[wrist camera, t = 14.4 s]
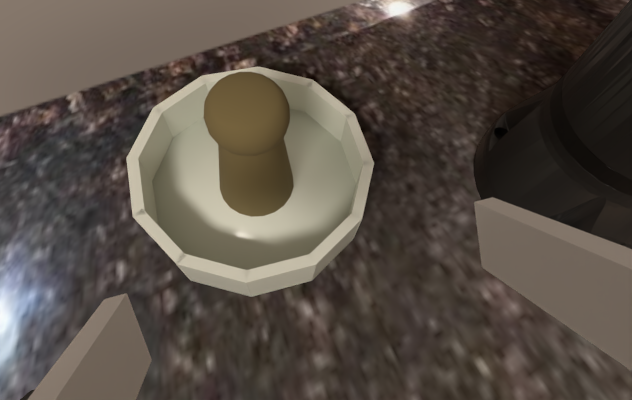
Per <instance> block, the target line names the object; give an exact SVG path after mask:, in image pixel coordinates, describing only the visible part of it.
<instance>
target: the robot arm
mask: <svg viewBox="0 0 632 400" xmlns="http://www.w3.org/2000/svg"><path fill="white" fill-rule="evenodd" d="M474 173H475V180H476V184H477V188H478V191H479V194H480V196H481V198H482V200H480V201H476V202H474V205H475V214H476V222H477V230H478V239H479V247H480V255H481V264H482V268H484V269H485V270H487V271H488V272H490V273H491V274H492V275H494V276H495V277H497V278H498V279H500V280H501V281H503V282H504V283H505V284H507V285H508V286H510V287H511V288H513V289H514V290H515V291H517V292H518V293H520V294H521V295H523V296H524V297H526V298H527V299H528V300H530V301H531V302H533V303H534V304H536V305H537V306H539V307H540V308H541V309H543V310H544V311H546V312H547V313H549V314H550V315H551V316H553V317H554V318H556V319H557V320H559V321H560V322H562V323H563V324H564V325H566V326H567V327H569V328H570V329H572V330H573V331H575V332H576V333H577V334H579V335H580V336H582V337H583V338H585V339H586V340H587V341H589V342H590V343H592V344H593V345H595V346H596V347H598V348H599V349H600V350H602V351H603V352H605V353H606V354H608V355H609V356H610V357H612V358H613V359H615V360H616V361H618V362H619V363H621V364H622V365H623V366H625V367H626V368H628V369H629V370H631V371H632V0H630V1H629V2H628V4H627V5H626V6H625V7H624V8H623V9H622V10H621V11H620V13H619V14H618V15H617V16H616V17H615V18H614V19H613V21H612V22H611V23H610V24H609V25H608V26H607V27H606V28H605V30H604V31H603V32H602V33H601V34H600V35H599V36H598V37H597V39H596V40H595V41H594V42H593V43H592V44H591V45H590V46H589V48H588V49H587V50H586V51H585V52H584V53H583V54H582V55H581V57H580V58H579V59H578V60H577V61H576V62H575V63H574V64H573V65H572V67H571V68H570V69H569V70H568V71H567V72H566V73H565V75H564V76H563V77H562V78H561V79H560V80H559V81H558V82H557V83H556V84H554V85H552V86H551V87H549V88H547V89H545V90H543V91H542V92H540V93H538V94H536V95H534V96H533V97H531V98H529V99H527V100H525V101H523V102H522V103H520V104H518V105H516V106H514V107H513V108H511V109H509V110H508V111H506V112H505V113H504V114H503V115H502V116H500V117H499V118H498V119H497V120H496V121H495V123H494V124H493V125H492V126H491V128H490V129H489V130H488V131H487V133H486V134H485V135H484V137H483V138H482V140H481V141H480V143H479V146H478V148H477V151H476V155H475V161H474ZM150 363H151V357H150V354H149V351H148V349H147V346H146V343H145V341H144V338H143V335H142V333H141V330H140V327H139V325H138V322H137V319H136V317H135V314H134V311H133V309H132V306H131V303H130V301H129V298H128V295H127V293H126V294H122V295H119V296H115V297H111V298H107V299H104V301H103V302H102V303H101V304H100V306H99V307H98V308H97V310H96V311H95V312H94V314H93V315H92V316H91V318H90V319H89V320H88V321H87V323H86V324H85V325H84V327H83V328H82V329H81V331H80V332H79V333H78V334H77V336H76V337H75V338H74V340H73V341H72V342H71V344H70V345H69V346H68V347H67V349H66V350H65V351H64V353H63V354H62V355H61V357H60V358H59V359H58V360H57V362H56V363H55V364H54V366H53V367H52V368H51V370H50V371H49V372H48V373H47V375H46V376H45V377H44V379H43V380H42V381H41V383H40V384H39V385H38V387H37V388H36V389H35V390H32V391H30V392H29V393H27V394H26V395H25V396H24V397H23V398H22V399H20V400H136V398H137V395H138V393H139V390H140V388H141V385H142V383H143V380H144V378H145V375H146V373H147V370H148V368H149V365H150Z"/></svg>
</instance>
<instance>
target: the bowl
mask: <svg viewBox="0 0 632 400" xmlns="http://www.w3.org/2000/svg"><path fill="white" fill-rule="evenodd" d="M237 72H255V73H259V74H263V75H264V76H266V77H268V78H270V79H272V80H273V81H274V82H275V83H276V84H277V85H278V86H279V87H280V88H281V89H282V90H283V92H284V94H285V96H286V98H287V100H288V103H289V108H290V122H289V126H288V129H287V132H286V134H285V136H284V141H285V145H286V149H287V153H288V158H289V162H290V166H291V170H292V174H293V185H294V187H293V190H292V194H291V197H290V198H289V199H288V201H287V202H286V204H285V205H284V206H283V207H281V208H280V209H279V210H277V211H276V212H274V213H271V214H268V215H265V216H254V217H251V216H247V215H243V214H240V213H238V212H236V211H235V210H233V209H232V208H230V207H229V206H228V204H227V203H226V202H225V201H224V200H223V197H222V194H221V191H220V182H219V152H218V144H217V143H216V141H215V140H214V139H213V138H212V137H211V136H210V134H209V132H208V129H207V126H206V124H205V121H204V103H205V99H206V97H207V95H208V93H209V91H210V90H211V88H212V87H213V86H214V85H215V84H216V83H217V82H218V81H219V80H220V79H222V78H224V77H226V76H227V75H229V74H233V73H237ZM126 159H127V167H128V176H129V186H130V195H131V204H132V213H133V218H134V219H135V220H136V221H137V222H138V223H139V224H140V225H141V226H142V228H143V229H144V230H145V231H146V232H147V233H148V234H149V235H150V236H151V237H152V239H154V240H155V241H156V243H157V244H158V245H159V246H160V247H161V248H162V249H163V250H164V251H165V252H166V254H167V255H168V256H169V257H170V258H171V259H172V260H173V261H174V262H175V263H176V265H177V266H178V267H179V268H180V269H181V270H182V271H183V272H184V274H185V275H186V276H187V277H188V278H189V279H190V280H191V281H195V282H198V283H202V284H206V285H209V286H213V287H217V288H221V289H224V290H228V291H232V292H235V293H239V294H243V295H247V296H250V297H252V296H256V295H260V294H264V293H267V292H271V291H275V290H279V289H282V288H286V287H290V286H294V285H297V284H301V283H305V282H309V281H312V280H313V279H314V278H315V277H316V276H317V275H318V274H319V273H320V272H321V271H322V270H323V269H324V268H325V267H326V266H327V265H328V264H329V263H330V262H331V261H332V260H333V259H334V258H335V257H336V256H337V255H338V254H339V253H340V252H341V251H342V250H343V249H344V248H345V247H346V246H347V245H348V244H349V243H350V242H351V241H352V240H353V238H354V236H355V234H356V231H357V229H358V227H359V225H360V223H361V221H362V217H363V212H364V208H365V203H366V198H367V194H368V189H369V185H370V180H371V175H372V171H373V166H374V162H373V159H372V156H371V154H370V151H369V149H368V146H367V144H366V141H365V139H364V136H363V133H362V131H361V128H360V126H359V123H358V121H357V118H356V115H355V113H353V112H352V111H351V110H350V109H348V108H347V107H346V106H345V105H343V104H342V103H341V102H340V101H339V100H337V99H336V98H335V97H334V96H332V95H331V94H330V93H329V92H327V91H326V90H325V89H324V88H322V87H321V86H320V85H319V84H317V83H316V82H315V81H314V80H313V79H308V78H304V77H300V76H295V75H291V74H287V73H283V72H279V71H275V70H271V69H267V68H263V67H259V66H258V67H252V68H246V69H240V70H234V71H228V72H222V73H216V74H210V75H204V76H201V77H199V78H198V79H196V80H195V81H193V82H192V83H190V84H188V85H187V86H185V87H184V88H182V89H181V90H179V91H178V92H176V93H175V94H173V95H172V96H170V97H169V98H167V99H166V100H164V101H163V102H161V103H160V104H158V105H157V106H155V107H154V108H153V109H152V111H151V113H150V115H149V117H148V119H147V121H146V123H145V124H144V126H143V128H142V130H141V132H140V134H139V136H138V138H137V139H136V141H135V143H134V145H133V147H132V149H131V151H130V153H129V154H128V156H127V158H126Z"/></svg>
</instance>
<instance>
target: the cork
mask: <svg viewBox="0 0 632 400" xmlns="http://www.w3.org/2000/svg"><path fill="white" fill-rule="evenodd" d="M204 121H205V124H206V126H207V129H208V132H209V134H210V136H211V137H212V138H213V139H214V140H215V141H216V143H217V144H218V152H219V182H220V191H221V194H222V197H223V200H224V201H225V202H226V203H227V204H228V206H229V207H230V208H232V209H233V210H235V211H236V212H238V213H240V214H243V215H247V216H251V217H254V216H265V215H268V214H271V213H274V212H276V211H277V210H279V209H280V208H281V207H283V206H284V205H285V204H286V202H287V201H288V199H289V198H290V197H291V194H292V190H293V187H294V185H293V174H292V170H291V166H290V162H289V158H288V153H287V149H286V145H285V141H284V136H285V134H286V132H287V129H288V126H289V122H290V108H289V103H288V100H287V98H286V96H285V94H284V92H283V90H282V89H281V88H280V87H279V86H278V85H277V84H276V83H275V82H274V81H273V80H272V79H270V78H268V77H266V76H264V75H263V74H259V73H255V72H237V73H233V74H229V75H227V76H226V77H224V78H222V79H220V80H219V81H218V82H217V83H216V84H215V85H214V86H213V87H212V88H211V90H210V91H209V93H208V95H207V97H206V99H205V103H204Z"/></svg>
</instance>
